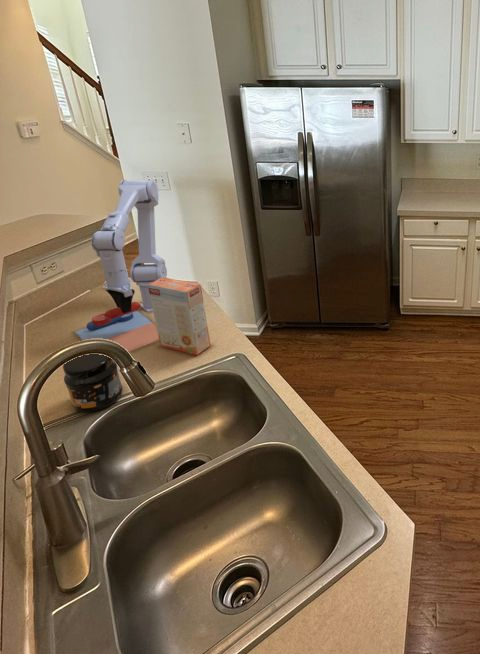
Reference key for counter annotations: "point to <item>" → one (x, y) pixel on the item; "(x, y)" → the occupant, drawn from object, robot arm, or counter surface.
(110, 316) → the red spoon
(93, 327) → the blue spoon
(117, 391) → the supplement container
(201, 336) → the cracker box
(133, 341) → the sorting mat
